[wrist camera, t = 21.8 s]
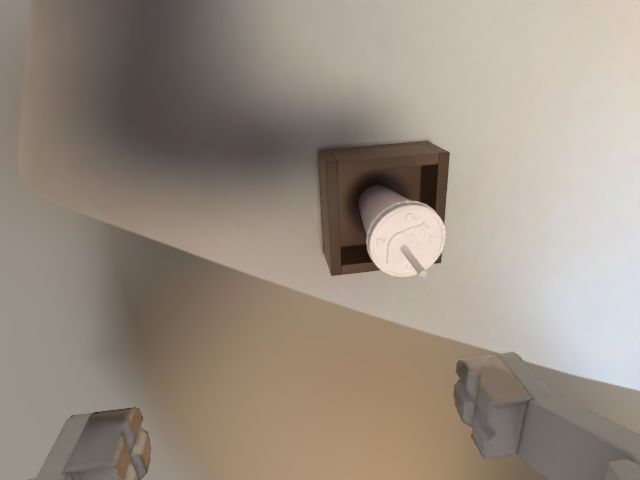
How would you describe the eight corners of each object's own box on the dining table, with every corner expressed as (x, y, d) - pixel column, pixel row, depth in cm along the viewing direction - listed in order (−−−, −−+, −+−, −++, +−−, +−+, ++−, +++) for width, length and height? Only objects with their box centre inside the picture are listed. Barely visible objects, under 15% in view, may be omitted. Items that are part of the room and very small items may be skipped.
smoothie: (331, 206, 41) (365, 275, 28) (377, 158, 39) (434, 207, 27) (375, 243, 43) (424, 322, 31) (419, 199, 42) (490, 261, 29)
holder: (323, 253, 44) (331, 276, 39) (318, 150, 39) (326, 162, 35) (422, 242, 45) (441, 263, 41) (428, 141, 40) (450, 152, 36)
